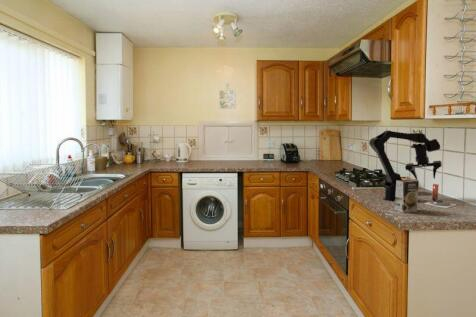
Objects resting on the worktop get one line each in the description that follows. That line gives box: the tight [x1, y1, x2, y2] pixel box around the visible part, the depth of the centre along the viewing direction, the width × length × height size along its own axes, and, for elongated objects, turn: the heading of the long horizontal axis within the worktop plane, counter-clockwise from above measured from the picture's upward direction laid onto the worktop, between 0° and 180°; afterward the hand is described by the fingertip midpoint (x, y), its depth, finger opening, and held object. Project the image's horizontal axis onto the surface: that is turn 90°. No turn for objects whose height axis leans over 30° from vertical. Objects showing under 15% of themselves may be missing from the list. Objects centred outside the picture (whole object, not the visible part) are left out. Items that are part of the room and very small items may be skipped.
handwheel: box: [429, 183, 451, 205], centre depth 194 cm, size 11×10×10 cm
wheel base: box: [423, 201, 457, 209], centre depth 194 cm, size 12×12×1 cm
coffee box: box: [394, 180, 420, 214], centre depth 179 cm, size 9×6×16 cm
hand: (425, 179), depth 205 cm, fingers open, 9 cm apart
